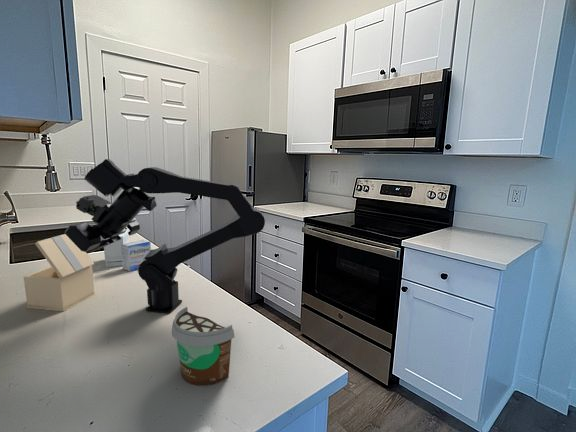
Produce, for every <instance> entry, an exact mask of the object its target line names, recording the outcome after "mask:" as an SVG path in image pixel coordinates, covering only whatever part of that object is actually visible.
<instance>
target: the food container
mask: <svg viewBox="0 0 576 432" xmlns="http://www.w3.org/2000/svg"><path fill="white" fill-rule="evenodd" d="M188 309H189V308H188V306H185V307H184V308H182V309H180V310H179V311H178V312H176V314H175V316H174V318H173V321H172V325H171V330H170V331H171V332H170V333H171V336H172V337H173V339H175V341H176V344H177V345H176V346H177V351H178V358H179V365H180V373H181V377H182V379H183V380H184V381H185V382H186V383H188V384H190V385H192V386H193V385H194V386H197V387H198V386H199V387H203V386H204V387H205V386H206V387H207V386H211V385H215V384H219V383H221V382H223V381H225V380H226V379H228V378H230V377H229V376H230V364H231V363H230V361H231V350H232V339H234V338H235V331H234V328H233V324H231V325H227V326H226V327H225V326H222V325H220V324H218V323H216V322H215V321H213V320H212V319H209V318H208V317H205V316H200V315H196V314H194V313H191V312H189V311H188Z"/></svg>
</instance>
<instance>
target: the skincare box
mask: <svg viewBox="0 0 576 432" xmlns="http://www.w3.org/2000/svg"><path fill="white" fill-rule="evenodd" d="M129 231H130V230H129V229H127V231H126V232H125V233H123V234H120V235H119V236H120V238H121V239H120V240H119V241H116V242H114V243H111V244H109V245H107V246H105V247H103V251H104V252H103V253H104V262H105V268H108V267H109V268H111V267H123V260H122V249H121V244H125V243H131V240H130V236H129V234H128V232H129Z"/></svg>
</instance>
